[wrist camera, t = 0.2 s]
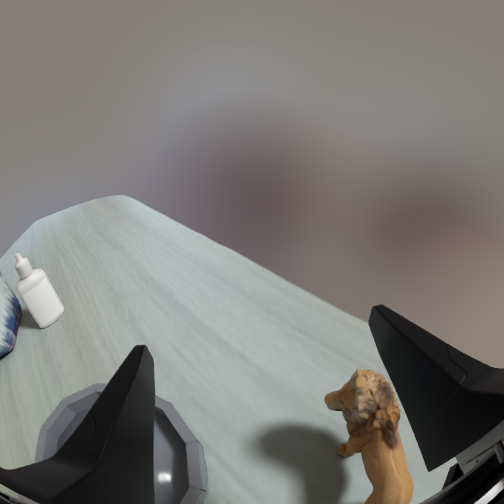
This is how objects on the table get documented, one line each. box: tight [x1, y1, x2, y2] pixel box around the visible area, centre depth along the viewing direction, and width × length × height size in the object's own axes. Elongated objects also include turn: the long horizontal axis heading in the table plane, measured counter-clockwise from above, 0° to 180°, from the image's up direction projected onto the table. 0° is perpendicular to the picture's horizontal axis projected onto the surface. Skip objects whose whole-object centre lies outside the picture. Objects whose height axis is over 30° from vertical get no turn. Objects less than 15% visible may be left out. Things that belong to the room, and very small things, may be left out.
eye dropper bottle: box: [15, 253, 64, 328], centre depth 30 cm, size 4×6×12 cm
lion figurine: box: [324, 368, 413, 504], centre depth 13 cm, size 15×5×9 cm, turn 12°
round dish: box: [35, 384, 208, 504], centre depth 16 cm, size 17×17×3 cm
